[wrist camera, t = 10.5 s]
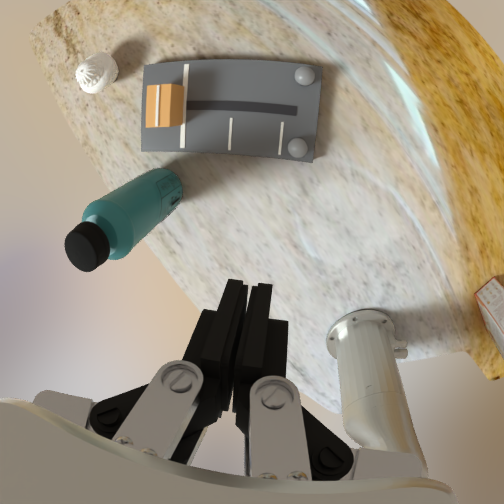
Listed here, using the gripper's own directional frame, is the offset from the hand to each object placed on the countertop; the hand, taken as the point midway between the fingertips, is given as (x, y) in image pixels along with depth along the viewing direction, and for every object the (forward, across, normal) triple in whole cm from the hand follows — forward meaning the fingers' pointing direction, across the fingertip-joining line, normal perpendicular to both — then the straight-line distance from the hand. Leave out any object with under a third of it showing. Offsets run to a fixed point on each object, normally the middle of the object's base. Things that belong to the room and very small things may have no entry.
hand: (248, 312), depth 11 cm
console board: (+27, +7, -8) cm, 29 cm away
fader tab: (+25, +13, -8) cm, 29 cm away
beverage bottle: (+27, +15, +3) cm, 31 cm away
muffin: (+27, +25, -14) cm, 40 cm away
